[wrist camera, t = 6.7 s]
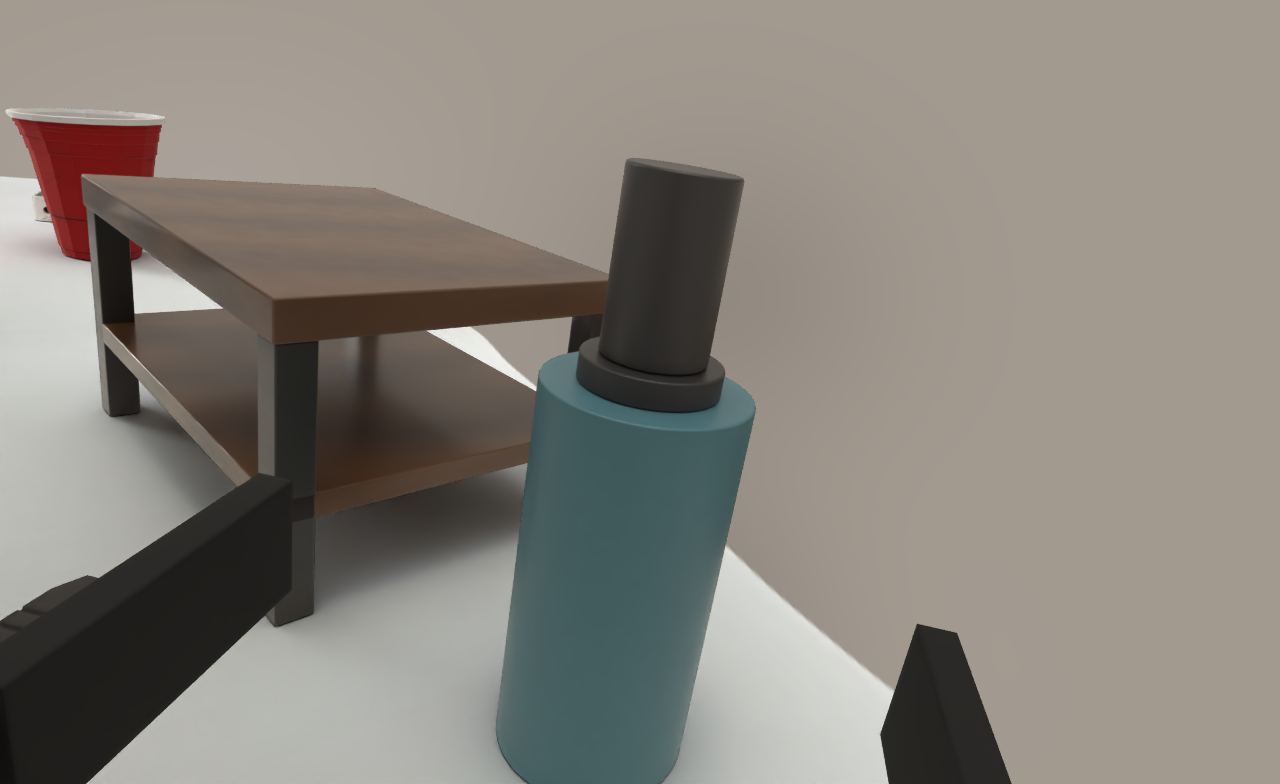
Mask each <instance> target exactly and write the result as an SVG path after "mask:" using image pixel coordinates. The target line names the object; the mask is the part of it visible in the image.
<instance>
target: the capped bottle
mask: <svg viewBox="0 0 1280 784" xmlns="http://www.w3.org/2000/svg"><path fill="white" fill-rule="evenodd" d="M743 186H744V179H743V178H741V177H739V176H736V175H733V174H729V173H725V172H721V171H716V170H711V169H706V168H701V167H695V166H690V165H683V164H678V163H671V162H664V161H657V160H649V159H639V158H630V159H627V160H626V163H625V170H624V176H623V183H622V190H621V197H620V203H619V210H618V216H617V224H616V230H615V237H614V244H613V251H612V258H611V265H610V272H609V278H608V285H607V291H606V298H605V305H604V312H603V319H602V325H601V332H600V337H596V338H592V339H589V340H587V341H585V342H584V343H583V344H582V345H581V346H580V348H579V352H573V353H567V354H563V355H560V356H557V357H554V358H552V359H550V360H549V361H547V362H546V363H545V364H543V366H542V367H541V369H540V370H539V374H538V382H537V391H536V399H535V407H534V415H533V424H532V432H531V440H530V448H529V457H528V465H527V473H526V481H525V490H524V498H523V506H522V514H521V523H520V531H519V539H518V547H517V556H516V564H515V572H514V581H513V589H512V597H511V605H510V614H509V622H508V630H507V638H506V647H505V655H504V663H503V671H502V680H501V688H500V696H499V704H498V713H497V721H496V733H497V738H498V743H499V745H500V748H501V750H502V753H503V755H504V756H505V758H506V760H507V761H508V763H509V764H510V766H511V767H512V768H513V769H514V770H515V772H516V773H517V774H519V775H520V776H521V777H522V778H523V779H524V780H525V781H527V782H528V783H529V784H659V783H661V782H662V781H663V780H664V779H665V777H666V776H667V775H668V774H669V773H670V771H671V770H672V768H673V766H674V764H675V762H676V760H677V757H678V754H679V749H680V745H681V741H682V736H683V732H684V727H685V723H686V718H687V714H688V709H689V705H690V701H691V696H692V692H693V687H694V683H695V678H696V674H697V669H698V665H699V661H700V656H701V652H702V647H703V643H704V638H705V634H706V629H707V625H708V621H709V616H710V612H711V607H712V603H713V598H714V594H715V589H716V585H717V581H718V576H719V572H720V567H721V563H722V558H723V554H724V549H725V545H726V541H727V536H728V532H729V527H730V523H731V518H732V514H733V509H734V505H735V501H736V496H737V492H738V487H739V483H740V478H741V474H742V469H743V465H744V460H745V455H746V452H747V447H748V443H749V438H750V434H751V429H752V425H753V420H754V416H755V410H756V407H755V402H754V400H753V398H752V396H751V395H750V394H749V393H748V392H747V391H746V390H745V389H743V388H742V387H741V386H739V385H738V384H737V383H735V382H734V381H732V380H730V379H728V378H726V377H725V369H724V367H723V366H722V364H721V363H720V362H718V361H717V360H716V359H715V358H713V357H711V356H710V353H711V347H712V342H713V337H714V332H715V326H716V322H717V317H718V312H719V307H720V302H721V297H722V292H723V287H724V282H725V277H726V271H727V266H728V262H729V257H730V251H731V247H732V242H733V237H734V231H735V227H736V222H737V216H738V211H739V206H740V201H741V196H742V191H743Z"/></svg>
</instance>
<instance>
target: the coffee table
mask: <svg viewBox="0 0 1280 784" xmlns="http://www.w3.org/2000/svg"><path fill="white" fill-rule="evenodd" d="M81 183H82V195H83V204H84V206H86V209H87V221H88V234H89V246H90V258H91V271H92V283H93V295H94V308H95V320H96V333H97V345H98V357H99V369H100V382H101V394H102V407H103V408H104V409H105V411H106V412H107V413H108V414H109V416H118V415H125V414H132V413H140V411H141V410H140V394H139V381H140V382H141V383H142V384H143V385H144V386H145V387H146V388H147V390H148V391H149V392H150V393H151V394H152V395H153V396H154V397H155V398H156V399H157V400H158V401H159V403H160V404H161V405H162V406H163V407H164V408H165V409H166V410H167V411H168V412H169V413H170V414H171V416H172V417H173V418H174V419H175V420H176V421H177V422H178V423H179V424H180V425H181V426H182V428H183V429H184V430H185V431H186V432H187V433H188V434H189V435H190V436H191V437H192V438H193V439H194V441H195V442H196V443H197V444H198V445H199V446H200V447H201V448H202V449H203V450H204V451H205V452H206V454H207V455H208V456H209V457H210V458H211V459H212V460H213V461H214V462H215V463H216V464H217V465H218V467H219V468H220V469H221V470H222V471H223V472H224V473H225V474H226V475H227V476H228V477H229V478H230V480H231V481H232V482H233V483H234V484H235V485H236V486H237V487H238V486H240V485H242V484H243V483H245V482H246V481H248V480H249V479H251V478H252V477H254V476H255V475H257V474H258V473H263V474H267V475H271V476H276V477H280V478H284V479H289V480H293V504H292V590H291V591H290V592H289V593H288V594H287V595H286V596H285V597H284V598H283V599H282V600H281V601H280V602H278V603H277V604H276V605H275V606H274V607H273V608H272V609H271V610H270V611H269V612H268V613H267V614H266V616H267V617H268V618H269V619H270V621H271V622H272V623H273V624H274V626H278V625H281V624H284V623H287V622H290V621H293V620H296V619H299V618H302V617H304V616H307V615H310V614H313V606H314V555H315V518H316V517H320V516H324V515H328V514H331V513H335V512H339V511H343V510H347V509H351V508H355V507H359V506H362V505H366V504H370V503H374V502H378V501H382V500H386V499H390V498H393V497H397V496H401V495H405V494H409V493H413V492H417V491H421V490H424V489H428V488H432V487H436V486H440V485H444V484H448V483H452V482H455V481H459V480H463V479H467V478H471V477H475V476H479V475H483V474H486V473H490V472H494V471H498V470H502V469H506V468H510V467H514V466H517V465H521V464H525V463H528V457H529V448H530V440H531V432H532V424H533V415H534V407H535V399H536V391H534V390H532V389H531V388H529V387H527V386H525V385H523V384H522V383H520V382H518V381H516V380H514V379H513V378H511V377H509V376H507V375H505V374H503V373H502V372H500V371H498V370H496V369H494V368H493V367H491V366H489V365H487V364H485V363H483V362H482V361H480V360H478V359H476V358H474V357H473V356H471V355H469V354H467V353H465V352H463V351H462V350H460V349H458V348H456V347H454V346H453V345H451V344H449V343H447V342H445V341H443V340H442V339H440V338H438V337H436V336H434V335H433V334H431V333H429V332H427V331H426V330H437V329H447V328H458V327H469V326H479V325H489V324H500V323H511V322H521V321H530V320H542V319H552V318H562V317H572V323H571V331H570V339H569V346H568V353H573V352H579V348H580V346H581V345H582V344H583V343H584V342H585V341H587V340H589V339H592V338H596V337H600V332H601V325H602V319H603V312H604V305H605V298H606V291H607V285H608V278H609V274H607V273H604V272H602V271H599V270H596V269H594V268H591V267H588V266H585V265H583V264H580V263H577V262H574V261H572V260H569V259H566V258H564V257H561V256H558V255H555V254H553V253H550V252H547V251H544V250H542V249H539V248H536V247H534V246H531V245H528V244H525V243H523V242H520V241H517V240H515V239H512V238H509V237H506V236H504V235H501V234H498V233H496V232H492V231H490V230H487V229H485V228H482V227H479V226H476V225H473V224H471V223H468V222H465V221H462V220H460V219H457V218H454V217H452V216H449V215H446V214H444V213H441V212H438V211H435V210H432V209H430V208H427V207H425V206H422V205H419V204H416V203H414V202H411V201H408V200H405V199H403V198H400V197H397V196H395V195H392V194H389V193H386V192H384V191H381V190H378V189H376V188H361V187H341V186H340V187H339V186H320V185H300V184H280V183H258V182H237V181H218V180H198V179H177V178H157V177H137V176H116V175H96V174H81ZM130 240H132V241H133V242H135V243H136V244H137V245H139V246H140V247H141V248H143V249H144V250H145V251H147V252H148V253H149V254H151V255H152V256H154V257H155V258H156V259H158V260H159V261H160V262H162V263H163V264H164V265H166V266H167V267H168V268H170V269H171V270H172V271H174V272H175V273H177V274H178V275H179V276H181V277H182V278H183V279H185V280H186V281H187V282H189V283H190V284H191V285H193V286H194V287H196V288H197V289H198V290H200V291H201V292H202V293H204V294H205V295H206V296H208V297H209V298H210V299H212V300H213V301H214V302H216V303H217V304H219V305H220V306H221V307H223V308H224V309H208V310H192V311H175V312H158V313H142V314H134V299H133V284H132V268H131V252H130Z"/></svg>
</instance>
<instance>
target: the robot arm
mask: <svg viewBox="0 0 1280 784" xmlns="http://www.w3.org/2000/svg"><path fill="white" fill-rule="evenodd" d="M292 504H293V480H289V479H284V478H280V477H276V476H271V475H267V474H263V473H258V474H257V475H255V476H254V477H252V478H251V479H249V480H248V481H246V482H245V483H243V484H242V485H240V486H238V487H237V488H235V489H234V490H232V491H231V492H229V493H228V494H226V495H225V496H223V497H222V498H220V499H219V500H217V501H216V502H214V503H213V504H211V505H210V506H208V507H206V508H205V509H203V510H202V511H200V512H199V513H197V514H196V515H194V516H193V517H191V518H190V519H188V520H187V521H185V522H184V523H182V524H181V525H179V526H178V527H176V528H175V529H173V530H171V531H170V532H168V533H167V534H165V535H164V536H162V537H161V538H159V539H158V540H156V541H155V542H153V543H152V544H150V545H149V546H147V547H146V548H144V549H143V550H141V551H139V552H138V553H136V554H135V555H133V556H132V557H130V558H129V559H127V560H126V561H124V562H123V563H121V564H120V565H118V566H117V567H115V568H114V569H112V570H111V571H109V572H107V573H106V574H104V575H103V576H101V577H100V578H96V577H92V576H88V575H87V576H84V577H81V578H79V579H76V580H73V581H71V582H68V583H65V584H62V585H60V586H57V587H54V588H52V589H50V590H48V591H47V592H45V593H44V594H42V595H41V596H39V597H37V598H36V599H34V600H33V601H31V602H29V603H28V604H26V605H25V606H23V608H22V610H21V611H18V610H17V611H15V612H13V613H12V614H10V615H9V616H7V617H5V618H4V619H2V620H1V621H0V784H86V783H87V782H88V781H90V780H91V779H92V778H93V777H94V776H95V775H96V774H97V773H98V772H99V771H100V770H101V769H102V768H103V767H104V766H105V765H107V764H108V763H109V762H110V761H111V760H112V759H113V758H114V757H115V756H116V755H117V754H118V753H119V752H120V751H121V750H122V749H123V748H125V747H126V746H127V745H128V744H129V743H130V742H131V741H132V740H133V739H134V738H135V737H136V736H137V735H138V734H139V733H140V732H142V731H143V730H144V729H145V728H146V727H147V726H148V725H149V724H150V723H151V722H152V721H153V720H154V719H155V718H156V717H157V716H159V715H160V714H161V713H162V712H163V711H164V710H165V709H166V708H167V707H168V706H169V705H170V704H171V703H172V702H173V701H174V700H176V699H177V698H178V697H179V696H180V695H181V694H182V693H183V692H184V691H185V690H186V689H187V688H188V687H189V686H190V685H191V684H192V683H194V682H195V681H196V680H197V679H198V678H199V677H200V676H201V675H202V674H203V673H204V672H205V671H206V670H207V669H208V668H209V667H211V666H212V665H213V664H214V663H215V662H216V661H217V660H218V659H219V658H220V657H221V656H222V655H223V654H224V653H225V652H226V651H228V650H229V649H230V648H231V647H232V646H233V645H234V644H235V643H236V642H237V641H238V640H239V639H240V638H241V637H242V636H243V635H244V634H246V633H247V632H248V631H249V630H250V629H251V628H252V627H253V626H254V625H255V624H256V623H257V622H258V621H259V620H260V619H261V618H263V617H264V616H265V615H266V614H267V613H268V612H269V611H270V610H271V609H272V608H273V607H274V606H275V605H276V604H277V603H278V602H280V601H281V600H282V599H283V598H284V597H285V596H286V595H287V594H288V593H289V592H290V591H291V590H292ZM880 735H881V741H882V747H883V753H884V758H885V764H886V770H887V776H888V781H889V784H1011V781H1010V778H1009V776H1008V773H1007V770H1006V767H1005V764H1004V762H1003V759H1002V756H1001V753H1000V751H999V748H998V745H997V742H996V740H995V737H994V734H993V731H992V728H991V726H990V723H989V720H988V718H987V715H986V712H985V710H984V706H983V704H982V701H981V698H980V695H979V693H978V690H977V687H976V684H975V682H974V679H973V676H972V674H971V670H970V668H969V665H968V662H967V659H966V657H965V654H964V651H963V648H962V646H961V643H960V640H959V637H958V635H957V633H955V632H951V631H946V630H942V629H937V628H933V627H929V626H924V625H920V624H917V625H916V629H915V631H914V635H913V637H912V641H911V644H910V647H909V650H908V653H907V656H906V659H905V662H904V665H903V668H902V671H901V674H900V677H899V680H898V683H897V686H896V689H895V692H894V695H893V698H892V701H891V704H890V707H889V710H888V713H887V716H886V719H885V722H884V725H883V728H882V731H881V734H880Z"/></svg>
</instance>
